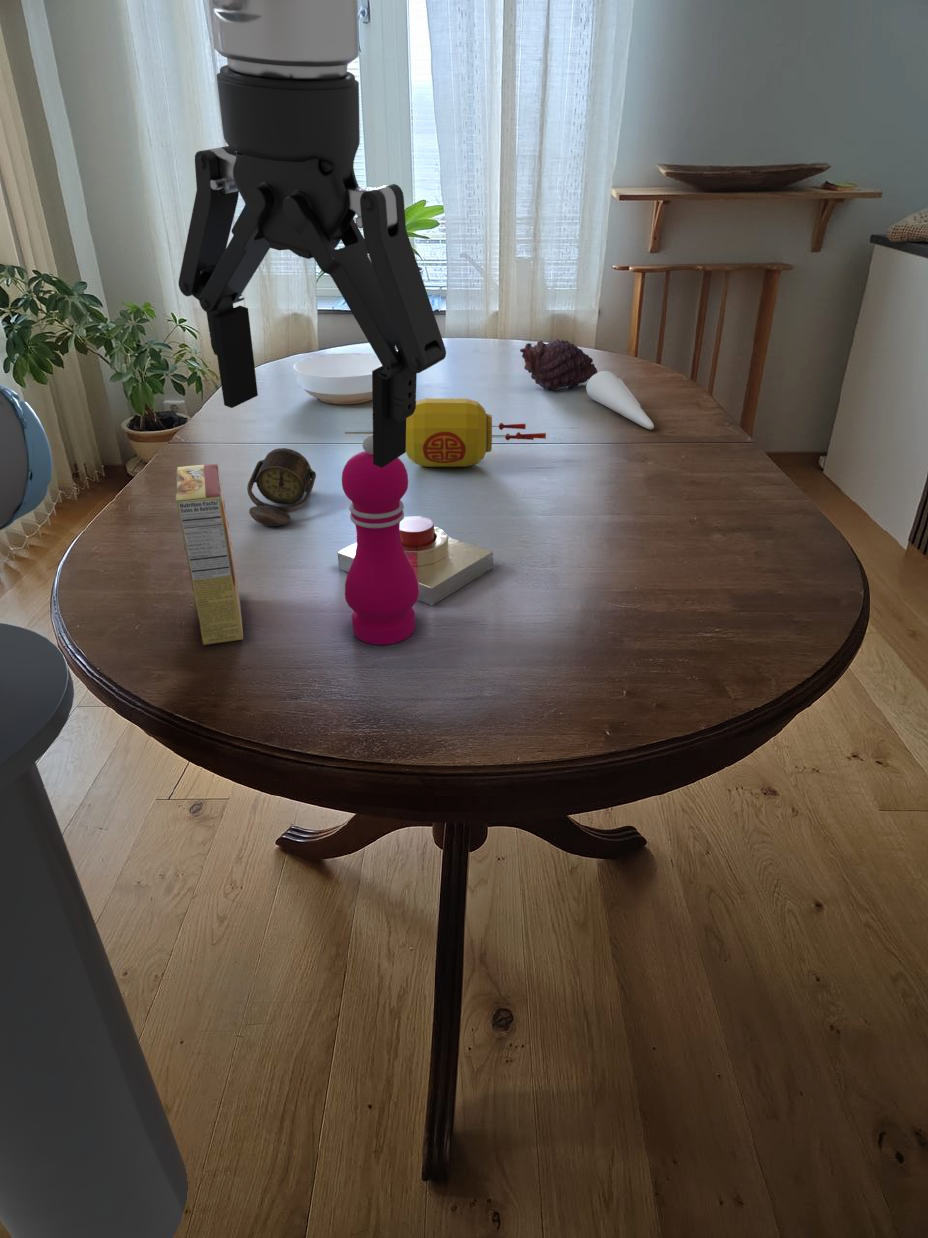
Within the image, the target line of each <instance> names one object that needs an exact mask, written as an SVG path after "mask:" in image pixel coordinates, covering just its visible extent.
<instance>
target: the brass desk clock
mask: <svg viewBox="0 0 928 1238" xmlns="http://www.w3.org/2000/svg"><path fill="white" fill-rule="evenodd" d="M316 479H317V473H316V471H314V470H313V469H312V466H311V464H310V462H309V461H308V460H307V458H306V457H305V456H304V455H303V454H301V453H300V452H298V451H296V450H295V449H291V448H286V447H280V448H279V447H278V448H275V449H273V450H270V451H269V452H268V453H267V454H266V455H265V457H264V459H262V460H259V461H258V462H257V463H256V465H255V467H254V470H253V471H252V474H251V476H250V478H249V481H248V482H247V487H246V489H247V495H248V497H249V499H250V500H251V502H252V503H253V504H254V505H255V506H252V507H250V509H249V510H248V513H249V515H250V516H251V517H250V518H252V519H253V520H254V521H255V522H256V523H258V524H260V525H263V526H265V527H278V526H279V527H280V526H283V525H287V524H288V523H289V522H290V521H291V519H292V518H291V515H290V514H289V513H294V512H297V511H299V510H301V509H303V508H304V507H305V506H306V505H307V504H308V502H309V500H310V498H311V494H312V491H313V488H314V486H315V481H316ZM254 484H256V487H257V490H258V491H259V492H260V494H261V495H262V497H264V498H265V499H266V500H268V501H269V502H272V503H274V504H276V505H274V504H269V503H267V502H264V501H263V500H260V499H259V498H258V497H256V496H255V494H254V492H253V491H252V489H253V487H254ZM305 493H306V494H305ZM304 495H305V496H304ZM303 496H304V498H303ZM301 499H302V500H301Z"/></svg>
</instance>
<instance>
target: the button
mask: <svg viewBox="0 0 928 1238" xmlns="http://www.w3.org/2000/svg"><path fill="white" fill-rule="evenodd" d="M434 526H435V523H434V521H433V520H432V519H431V518H429V517H426V516H420V515H411V516H404V518H403V520H402V521H401V522H400V528H399V530H400V538H401V543H402V546H405V547H420V546H426V545H429V544H431V543H433V542H434Z"/></svg>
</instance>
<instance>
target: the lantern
mask: <svg viewBox="0 0 928 1238" xmlns="http://www.w3.org/2000/svg"><path fill="white" fill-rule="evenodd" d="M526 425H527V424H526V423H513V424H504V423H503V422H500V423H499V424H498V425H493V415H492V414H490V413H487V412H486V410H485V407H483V406H482V404H480V402H479V401H477V400H472V399H470V398H423V399H420V400H416V409H415V411H414V413H413V415H411V416H410V417H408V418H406V452H405V453H406V456H407V458H408V459H409V460H410V461H411V462H413V463H414V464H415V465H419V466H422V467H425V468H468V467H471V466H475V465H478V464H479V463H480V462H481V461H482V460H483V459H484V458H485V455H486V453H490V452H492V449H493V447H492V446H493V437H504V438H505V440H506V441H510V440H512V439H514V440H531V441H534V439H543V440H545V439H546V438H547V433H546V432H539V433H537V432H536V433H521V432H519V431H518V432H516V434H515V435H514V434H510V433H506V434H493V427H494V428H495V427H496V428H498V429H499V430H500V431H503V430H504V429H515V430H526V428H527V427H526ZM344 434H346V435H347V434H348V435H349V434H353V435H356V434H357V435H358V434H359V435H361V434H362V435H363V434H364V435H373V431H344Z"/></svg>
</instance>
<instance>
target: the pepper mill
mask: <svg viewBox="0 0 928 1238" xmlns="http://www.w3.org/2000/svg"><path fill="white" fill-rule="evenodd" d="M362 448H363V451H361V452H358V453H356V454H355V455H353V456H351V457H350V458H349V460H347V461H346V462H345V465H344V467H343V469H342V474H341V486H342V490H343V494H344V495H345V496H346V497H347V499H348V500H349V501H350V504H349V507H348V509H349V511H350V515H349V519H350V521H351V522H352V523H353V524H354V525H355V530H356V531H355V532H356V543H357V547H356V553H355V557H354V559H353V562H352V564H351V566H350V569H349V572H347V574H346V579H345V583H344V598H345V602H346V603H347V605H348V607H349V608H350V609H351V610H352V611H353V612H352V614H351V621H352V622H351V623H352V632H353V635H354V636H355V637H356V638H357V639H359V640H360V641H362V642H364V643H367V644H371V645H376V646H377V645H378V646H384V645H385V646H386V645H393V644H397V643H401V642H403V641H405V640H407V639H408V638H410V636H412V634H413V633H414V632H415V629H416V617H415V616H416V615H415V610H414V608H413V607H414V605H415V604H416V603H417V601H418V600H417V599H418V594H419V589H418V581H417V578H416V575H415V572H414V569H413V567H412V565H411V564H410V562H409V560H408V558H407V556H406V554H405V552H404V550H403V546H402V543H401V538H400V530H399V528H400V522H401V521H402V520H403V518H404V517H405V512H404V508H405V504H404V502H403V500H401V499H402V498H403V497H404V495H405V494H406V493H407V491H408V487H409V476H408V475H409V474H408V470H407V468H406V466H405V464H404V462H403V461H402V460H401V458H399V457H398V458H396V459H395V460H393V461H392V462H390V463H389V464H387V465H386V466H384V467H383V468H381V467H379V466H376V465H374V464H373V434H368V435H367V436H366V437H365V438H364V439H363V442H362Z"/></svg>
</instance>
